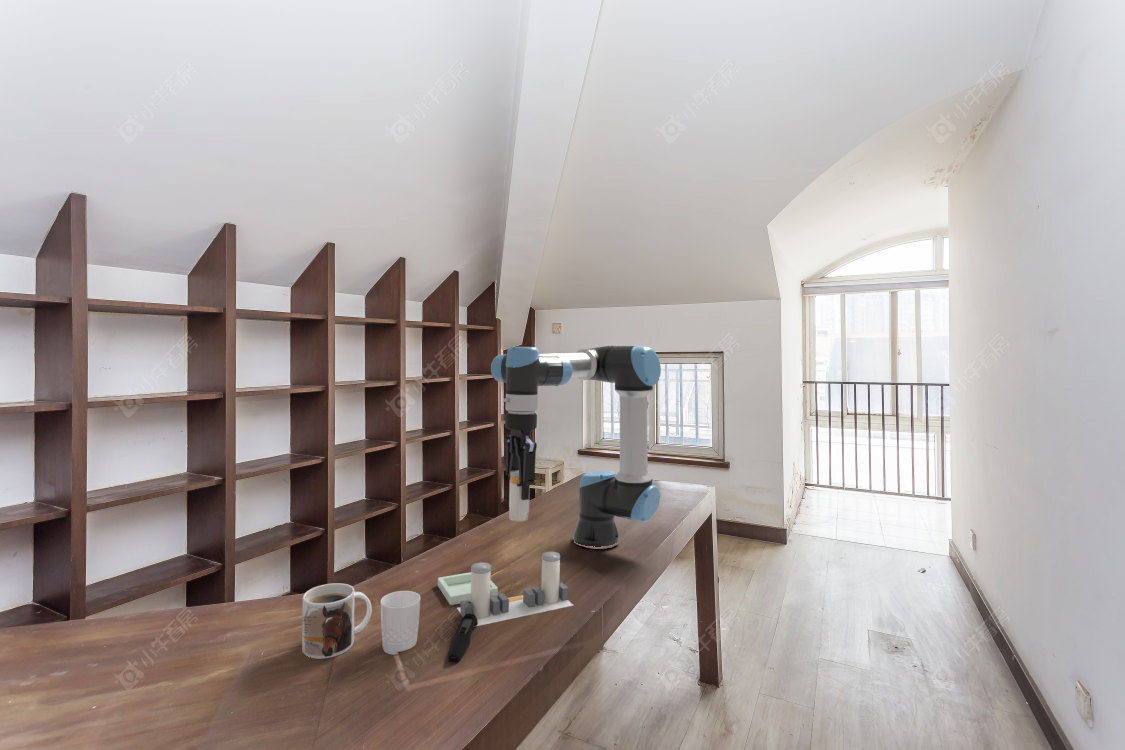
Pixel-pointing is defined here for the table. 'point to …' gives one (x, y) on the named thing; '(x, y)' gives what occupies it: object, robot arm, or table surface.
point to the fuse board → (518, 605)
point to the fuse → (480, 589)
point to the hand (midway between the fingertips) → (518, 509)
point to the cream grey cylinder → (550, 577)
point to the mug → (330, 620)
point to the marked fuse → (515, 498)
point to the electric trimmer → (462, 637)
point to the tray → (460, 588)
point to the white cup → (399, 621)
